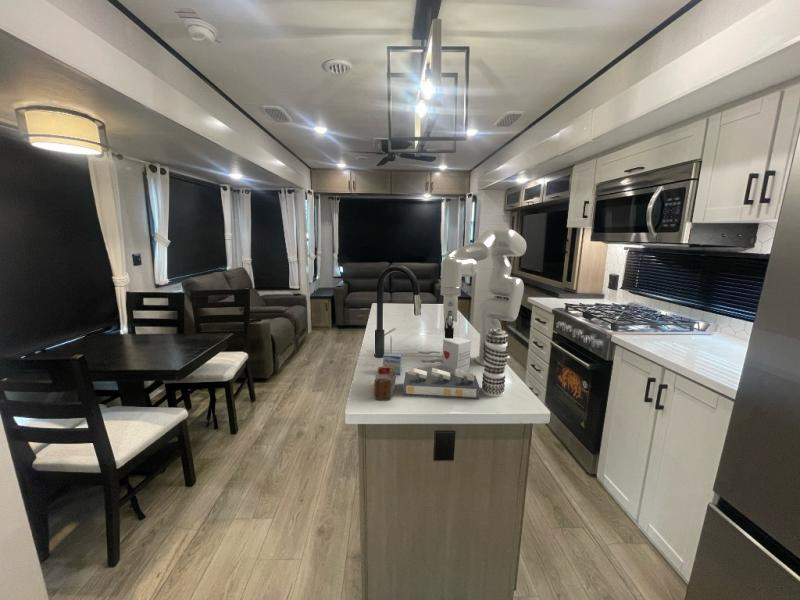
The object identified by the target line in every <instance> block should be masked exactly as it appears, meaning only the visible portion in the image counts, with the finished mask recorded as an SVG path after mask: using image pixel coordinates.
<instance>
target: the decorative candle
mask: <svg viewBox="0 0 800 600" xmlns="http://www.w3.org/2000/svg"><path fill="white" fill-rule="evenodd" d="M508 336H509V334H508V333H507V332H506V330H504V328H503V329H502V328H501V329H498V328H492V329H490V330H489V331H488V332H486V342H485V343H484V344H483V345H484V348H483V349H484V353H483V354H484V356H483V359H484V364H485V365H484V368H483V373H482V381H481V383H482V385H481V391H482V393H483V394H484V395H486V396H489V397H493V398H495V397H496V398H498V397H502V396H504V394H505V387H506V384H505V383H506V371H505V370H506V368H505V367H506V366H507V362H508V360H506V359H505V357H507V356H509V355H508V354H509V350H508V348H509V347H510V345H508V341H507V340H508ZM485 348H486V349H485ZM485 353H486V354H485Z"/></svg>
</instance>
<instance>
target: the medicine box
mask: <svg viewBox="0 0 800 600" xmlns="http://www.w3.org/2000/svg"><path fill="white" fill-rule="evenodd" d="M382 366H388V367H391V368H393V371H395V373H396V376H401V374H402V371H403V369H402V368H403V353H397V352H384V353H383V356H382Z"/></svg>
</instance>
